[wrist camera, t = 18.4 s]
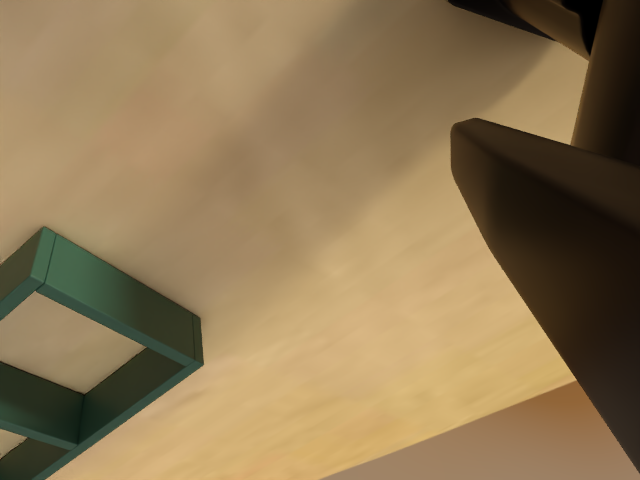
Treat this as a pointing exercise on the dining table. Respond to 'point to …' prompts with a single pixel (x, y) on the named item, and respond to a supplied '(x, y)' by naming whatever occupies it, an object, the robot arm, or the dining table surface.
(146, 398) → the rack
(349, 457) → the dining table surface
